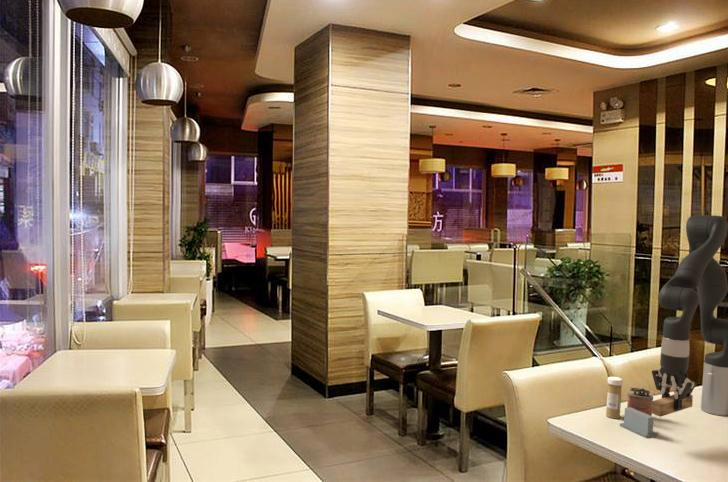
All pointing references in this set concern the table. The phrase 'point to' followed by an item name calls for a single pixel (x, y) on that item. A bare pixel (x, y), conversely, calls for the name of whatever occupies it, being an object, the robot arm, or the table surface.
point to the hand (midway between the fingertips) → (671, 407)
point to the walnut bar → (668, 405)
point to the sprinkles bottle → (614, 397)
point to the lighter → (640, 400)
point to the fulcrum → (638, 422)
